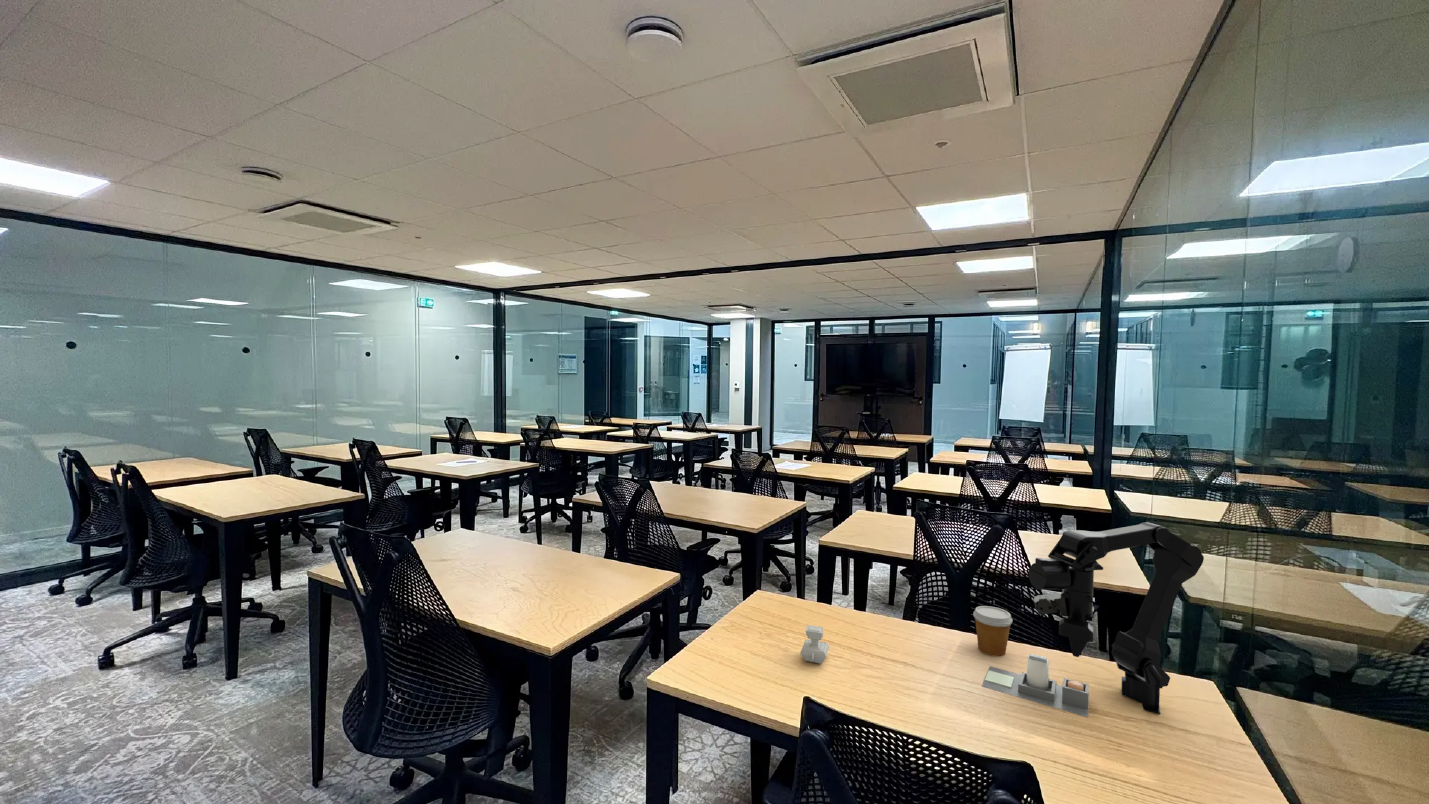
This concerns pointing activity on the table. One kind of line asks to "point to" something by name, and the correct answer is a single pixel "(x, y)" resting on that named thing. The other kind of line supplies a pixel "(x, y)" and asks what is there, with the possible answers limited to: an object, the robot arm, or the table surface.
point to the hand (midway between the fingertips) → (1075, 656)
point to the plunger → (1075, 685)
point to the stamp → (814, 645)
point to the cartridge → (1037, 672)
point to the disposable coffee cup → (992, 629)
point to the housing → (1039, 691)
